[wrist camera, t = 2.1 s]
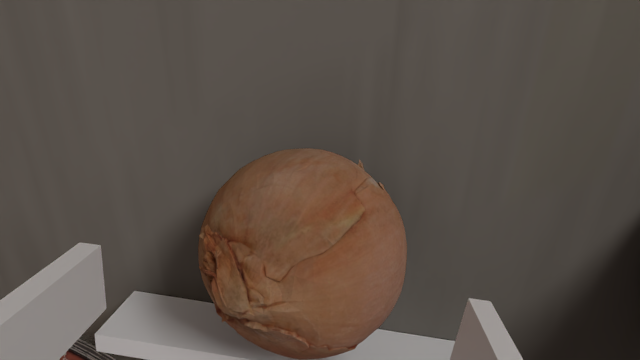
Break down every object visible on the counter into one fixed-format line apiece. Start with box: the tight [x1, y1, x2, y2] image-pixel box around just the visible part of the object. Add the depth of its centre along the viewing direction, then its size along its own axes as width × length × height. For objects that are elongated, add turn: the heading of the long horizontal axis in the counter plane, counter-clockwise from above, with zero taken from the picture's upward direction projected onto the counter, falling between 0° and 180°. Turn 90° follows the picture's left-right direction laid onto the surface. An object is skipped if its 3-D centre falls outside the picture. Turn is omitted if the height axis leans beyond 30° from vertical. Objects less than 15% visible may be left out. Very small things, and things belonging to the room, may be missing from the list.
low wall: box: [95, 291, 455, 360], centre depth 22 cm, size 22×1×4 cm, turn 83°
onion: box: [198, 148, 407, 360], centre depth 17 cm, size 10×9×10 cm
